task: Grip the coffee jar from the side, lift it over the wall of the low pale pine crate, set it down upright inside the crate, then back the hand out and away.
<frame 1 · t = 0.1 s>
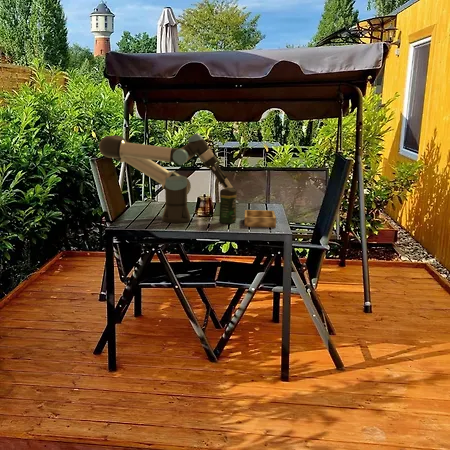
hand: (230, 190, 263), 15 cm above the table, tool tilted 35°, fingers open, 13 cm apart
pine crate: (259, 222, 251), on the table
coffee jar: (227, 222, 251), on the table
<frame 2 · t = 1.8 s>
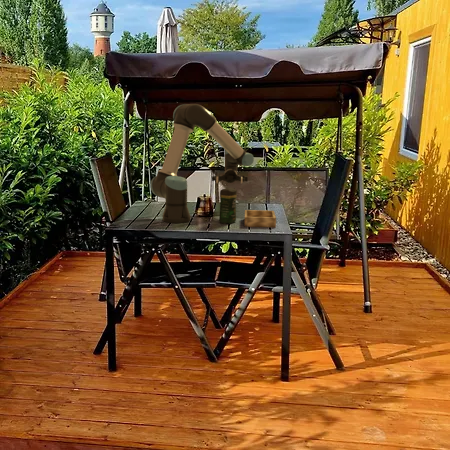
hand: (229, 180, 256), 21 cm above the table, tool horizontal, fingers open, 13 cm apart
nothing on the table moved.
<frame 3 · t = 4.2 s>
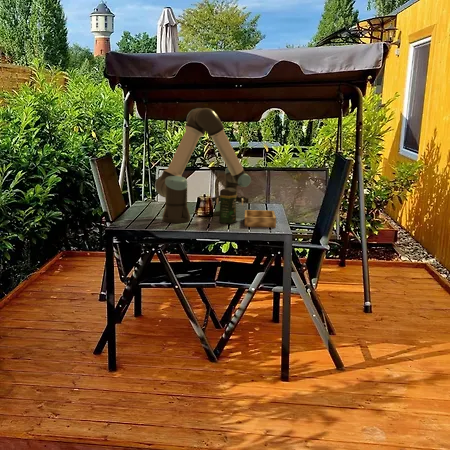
hand: (229, 202, 251), 10 cm above the table, tool horizontal, fingers open, 13 cm apart
nothing on the table moved.
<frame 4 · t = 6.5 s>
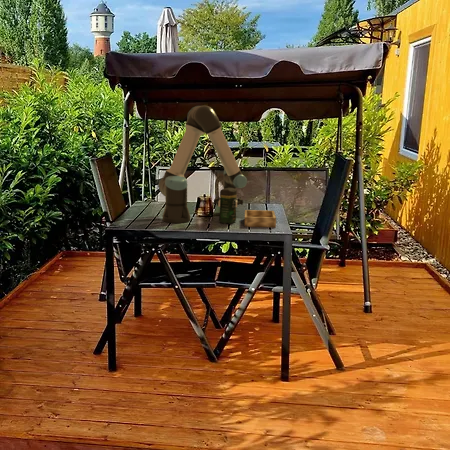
hand: (227, 204, 245), 11 cm above the table, tool horizontal, fingers closed on coffee jar, 8 cm apart
coffee jar: (227, 222, 251), on the table, touching gripper
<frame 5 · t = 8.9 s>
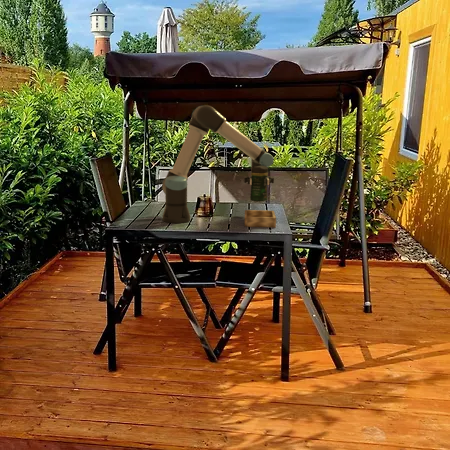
hand: (259, 182, 242), 22 cm above the table, tool horizontal, fingers closed on coffee jar, 8 cm apart
coffee jar: (258, 201, 249), point 12 cm above the table, touching gripper
when the fingers open (13 cm above the table, at t = 11.6 s): coffee jar drops 1 cm, resting on pine crate.
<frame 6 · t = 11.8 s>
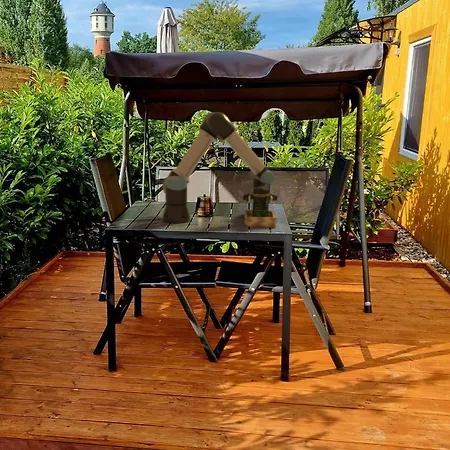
hand: (260, 200, 244), 13 cm above the table, tool horizontal, fingers open, 11 cm apart
coffee jar: (260, 221, 251), point 1 cm above the table, touching pine crate
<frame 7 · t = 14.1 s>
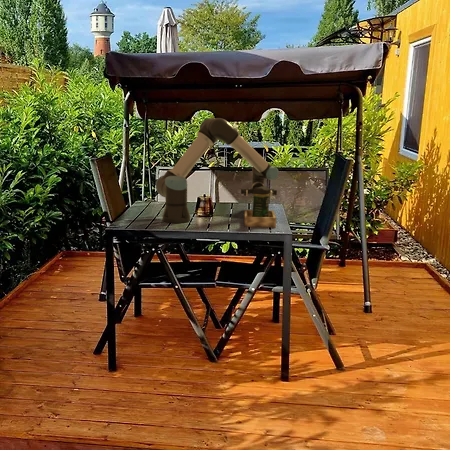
hand: (259, 194, 257), 14 cm above the table, tool horizontal, fingers open, 13 cm apart
nothing on the table moved.
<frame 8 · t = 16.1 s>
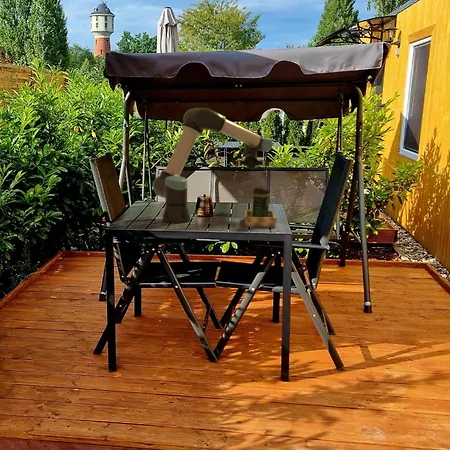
hand: (251, 164, 257), 30 cm above the table, tool horizontal, fingers open, 13 cm apart
nothing on the table moved.
at the end: coffee jar inside the target area on the pine crate (0.5 cm from its centre), point 0.8 cm above the pine crate's base; coffee jar tilted 0°; the gripper is holding nothing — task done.
